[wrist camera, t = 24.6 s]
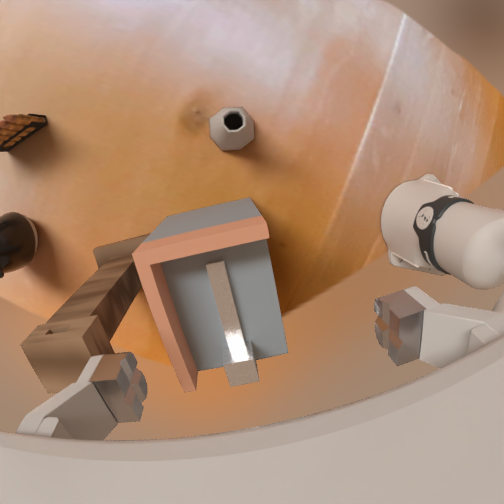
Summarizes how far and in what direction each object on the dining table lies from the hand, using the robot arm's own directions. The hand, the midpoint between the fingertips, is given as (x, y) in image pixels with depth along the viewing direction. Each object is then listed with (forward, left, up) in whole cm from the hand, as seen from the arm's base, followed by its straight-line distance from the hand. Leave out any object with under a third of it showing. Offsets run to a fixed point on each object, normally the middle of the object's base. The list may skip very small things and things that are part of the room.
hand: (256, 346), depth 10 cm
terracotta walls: (-2, +10, -25) cm, 27 cm away
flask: (+4, -10, -41) cm, 43 cm away
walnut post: (+11, +17, -41) cm, 46 cm away
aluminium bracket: (-4, +12, -25) cm, 28 cm away
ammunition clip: (+40, +2, -41) cm, 58 cm away
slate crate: (-2, +10, -41) cm, 42 cm away
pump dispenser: (+34, +20, -41) cm, 57 cm away
